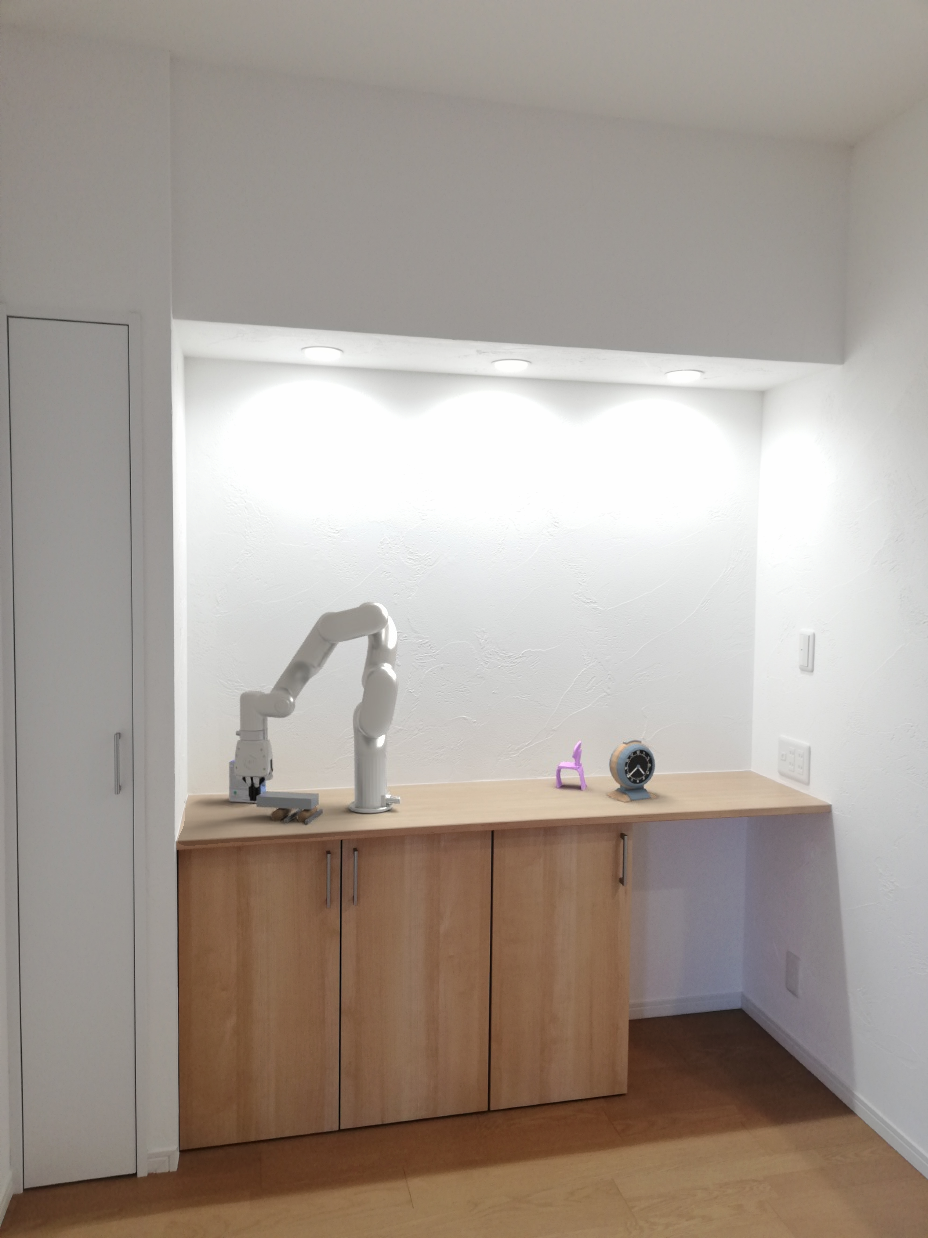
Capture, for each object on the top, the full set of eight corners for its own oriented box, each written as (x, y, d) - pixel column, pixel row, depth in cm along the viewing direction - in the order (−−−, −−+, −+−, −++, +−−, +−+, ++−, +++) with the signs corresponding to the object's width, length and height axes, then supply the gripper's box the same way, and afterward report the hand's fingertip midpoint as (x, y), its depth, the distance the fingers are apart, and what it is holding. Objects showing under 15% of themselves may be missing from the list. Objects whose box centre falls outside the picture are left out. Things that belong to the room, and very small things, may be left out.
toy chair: (560, 783, 287) (560, 737, 287) (587, 785, 284) (587, 739, 284) (554, 789, 280) (554, 742, 279) (581, 791, 277) (582, 744, 276)
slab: (318, 804, 248) (318, 793, 248) (311, 809, 242) (311, 798, 242) (265, 801, 251) (265, 791, 251) (256, 807, 245) (256, 796, 245)
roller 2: (302, 825, 242) (309, 817, 241) (294, 817, 242) (302, 809, 242) (312, 817, 250) (319, 810, 249) (305, 809, 250) (312, 802, 250)
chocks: (322, 812, 251) (322, 809, 251) (307, 824, 240) (307, 820, 239) (300, 811, 253) (299, 808, 252) (284, 823, 241) (284, 819, 241)
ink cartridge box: (267, 799, 267) (266, 751, 266) (259, 803, 262) (258, 755, 261) (236, 797, 269) (236, 750, 268) (228, 802, 264) (227, 754, 263)
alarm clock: (621, 802, 262) (621, 744, 262) (603, 795, 271) (603, 738, 270) (660, 798, 268) (661, 740, 267) (641, 790, 277) (642, 735, 276)
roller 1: (280, 809, 251) (287, 816, 251) (269, 816, 244) (277, 823, 243) (286, 801, 251) (294, 808, 251) (275, 808, 243) (283, 815, 243)
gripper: (223, 737, 245) (224, 802, 246) (273, 738, 243) (274, 804, 243) (234, 732, 253) (235, 795, 253) (284, 734, 250) (284, 798, 251)
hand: (254, 799), depth 248 cm, fingers closed
